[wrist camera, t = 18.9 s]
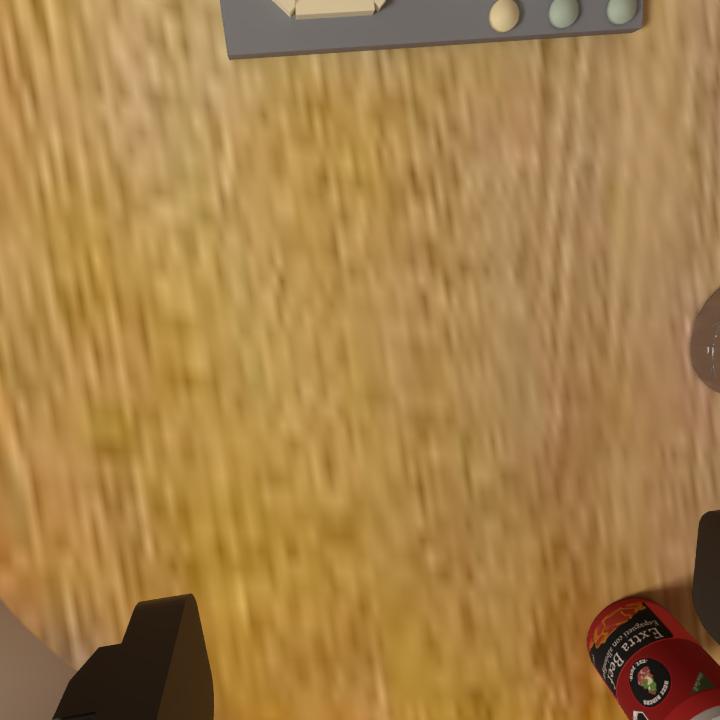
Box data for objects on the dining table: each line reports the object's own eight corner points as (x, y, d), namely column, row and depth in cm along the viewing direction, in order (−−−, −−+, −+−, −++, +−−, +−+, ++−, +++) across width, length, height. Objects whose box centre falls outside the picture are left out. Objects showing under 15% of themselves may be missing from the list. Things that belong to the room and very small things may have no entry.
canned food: (627, 578, 45) (732, 693, 34) (688, 623, 47) (804, 744, 37) (564, 645, 46) (646, 776, 35) (626, 685, 48) (721, 820, 38)
